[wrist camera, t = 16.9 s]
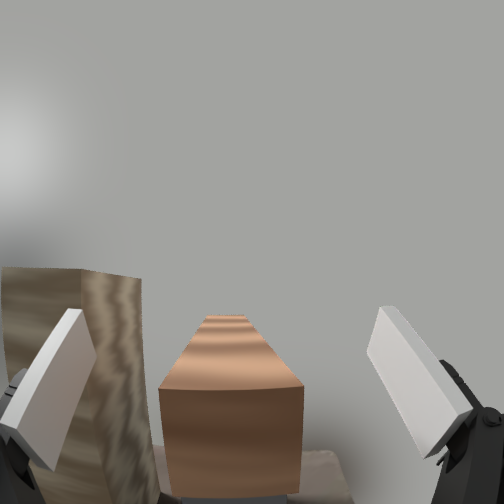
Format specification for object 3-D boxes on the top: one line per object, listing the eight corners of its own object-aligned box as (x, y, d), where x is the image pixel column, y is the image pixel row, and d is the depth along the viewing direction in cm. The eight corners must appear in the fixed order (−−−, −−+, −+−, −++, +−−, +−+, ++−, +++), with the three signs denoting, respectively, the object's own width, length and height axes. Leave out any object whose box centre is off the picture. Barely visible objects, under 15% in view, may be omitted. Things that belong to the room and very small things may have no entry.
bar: (298, 492, 7) (304, 385, 8) (172, 496, 7) (158, 388, 7) (244, 349, 33) (243, 314, 33) (208, 350, 33) (207, 315, 33)
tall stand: (138, 567, 14) (81, 268, 18) (68, 549, 14) (1, 266, 18) (160, 491, 30) (141, 278, 34) (107, 483, 30) (82, 277, 33)
